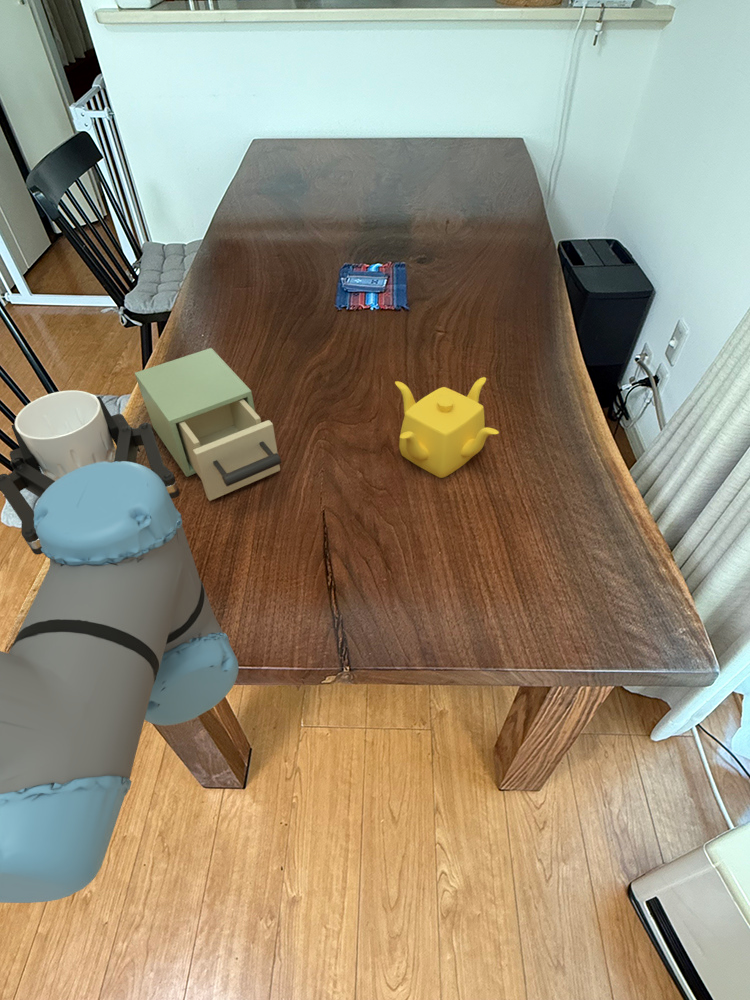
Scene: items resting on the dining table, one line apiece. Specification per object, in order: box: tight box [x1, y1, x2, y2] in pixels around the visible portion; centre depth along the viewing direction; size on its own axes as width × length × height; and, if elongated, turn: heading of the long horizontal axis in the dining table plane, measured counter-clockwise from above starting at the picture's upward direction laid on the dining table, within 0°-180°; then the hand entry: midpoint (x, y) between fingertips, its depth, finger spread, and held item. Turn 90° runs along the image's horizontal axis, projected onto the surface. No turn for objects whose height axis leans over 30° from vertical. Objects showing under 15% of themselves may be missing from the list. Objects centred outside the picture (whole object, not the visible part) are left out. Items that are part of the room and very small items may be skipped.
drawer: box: [175, 399, 282, 502], centre depth 87 cm, size 18×11×9 cm, turn 34°
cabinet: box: [134, 347, 256, 478], centre depth 93 cm, size 15×13×11 cm
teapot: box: [394, 376, 500, 479], centre depth 90 cm, size 15×14×10 cm
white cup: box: [14, 389, 116, 481], centre depth 62 cm, size 8×8×10 cm
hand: (61, 420), depth 64 cm, fingers closed on white cup, 8 cm apart
